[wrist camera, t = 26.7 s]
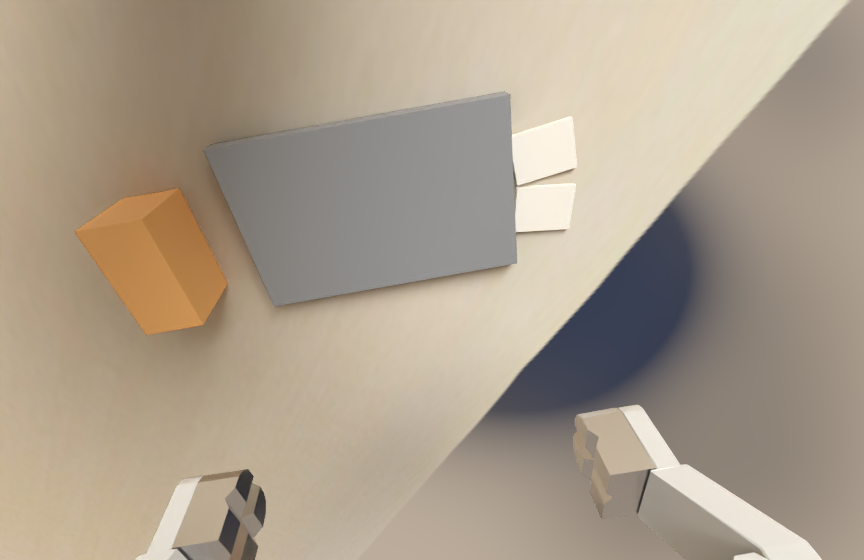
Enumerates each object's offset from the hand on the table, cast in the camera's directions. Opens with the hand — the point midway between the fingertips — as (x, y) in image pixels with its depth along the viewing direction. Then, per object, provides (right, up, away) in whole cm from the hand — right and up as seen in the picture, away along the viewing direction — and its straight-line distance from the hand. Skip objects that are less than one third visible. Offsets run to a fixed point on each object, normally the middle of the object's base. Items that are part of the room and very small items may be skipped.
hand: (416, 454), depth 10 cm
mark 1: (+9, +15, +23) cm, 29 cm away
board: (-4, +11, +24) cm, 26 cm away
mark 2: (+10, +11, +26) cm, 30 cm away
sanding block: (-21, +7, +24) cm, 33 cm away
